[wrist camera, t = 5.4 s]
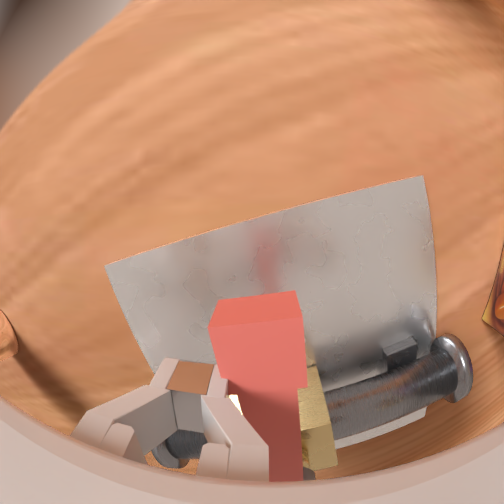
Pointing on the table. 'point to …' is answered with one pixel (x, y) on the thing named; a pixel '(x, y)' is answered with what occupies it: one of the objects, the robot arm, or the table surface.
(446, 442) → the table surface
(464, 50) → the table surface
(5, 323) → the beer glass
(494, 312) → the candy box
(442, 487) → the robot arm
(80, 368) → the table surface
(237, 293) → the valve assembly
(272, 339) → the lever
